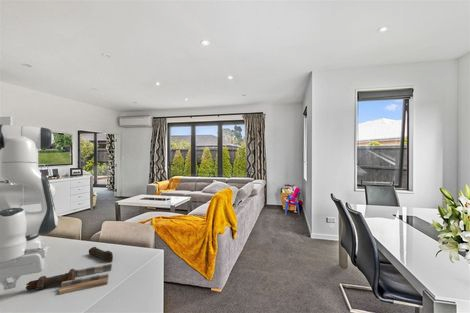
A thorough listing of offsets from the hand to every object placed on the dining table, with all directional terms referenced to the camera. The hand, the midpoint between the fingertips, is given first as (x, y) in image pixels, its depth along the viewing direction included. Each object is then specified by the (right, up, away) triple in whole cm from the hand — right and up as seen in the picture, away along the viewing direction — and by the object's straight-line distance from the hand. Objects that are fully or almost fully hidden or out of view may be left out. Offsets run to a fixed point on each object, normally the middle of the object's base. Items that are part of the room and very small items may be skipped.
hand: (10, 288), depth 82 cm
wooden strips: (+23, -2, +10) cm, 25 cm away
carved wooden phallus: (+17, -3, +31) cm, 35 cm away
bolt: (+12, -3, +5) cm, 13 cm away
